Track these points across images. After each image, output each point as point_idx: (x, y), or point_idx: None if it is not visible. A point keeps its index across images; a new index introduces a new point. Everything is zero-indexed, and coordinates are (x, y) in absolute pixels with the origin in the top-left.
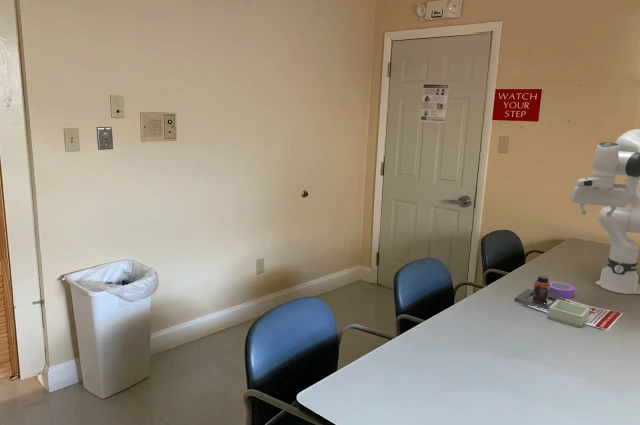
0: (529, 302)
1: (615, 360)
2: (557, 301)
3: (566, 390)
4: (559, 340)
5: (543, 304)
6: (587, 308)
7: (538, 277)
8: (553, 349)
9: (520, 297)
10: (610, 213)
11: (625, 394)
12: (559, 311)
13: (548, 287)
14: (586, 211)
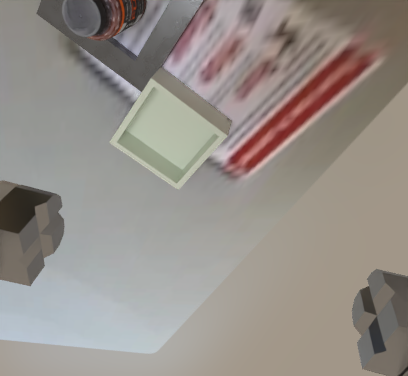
0: (80, 45)
1: (193, 276)
2: (143, 96)
3: (100, 320)
4: (121, 223)
5: (119, 61)
6: (216, 140)
7: (64, 16)
8: (104, 249)
9: (54, 5)
10: (398, 371)
11: (165, 329)
12: (133, 157)
13: (117, 32)
14: (34, 277)
